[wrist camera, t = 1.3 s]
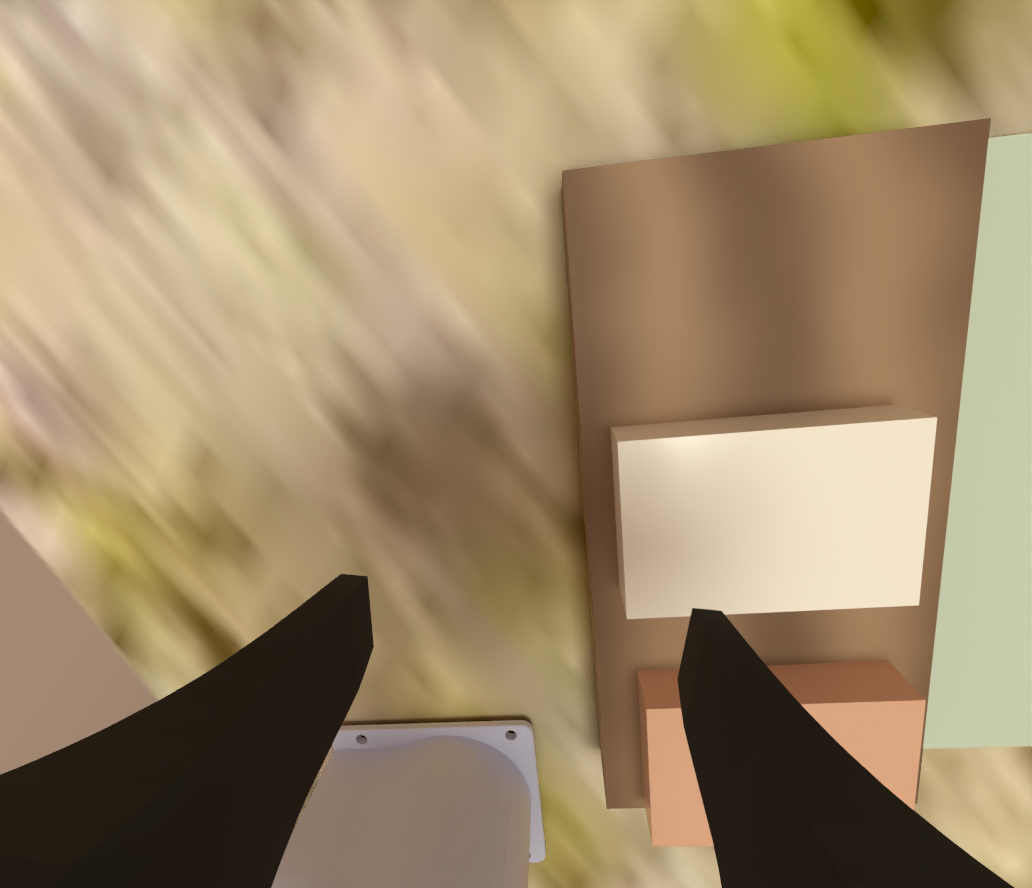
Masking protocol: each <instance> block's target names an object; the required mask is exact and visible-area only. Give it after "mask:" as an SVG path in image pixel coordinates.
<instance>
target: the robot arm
mask: <svg viewBox="0 0 1032 888" xmlns="http://www.w3.org/2000/svg"><path fill="white" fill-rule="evenodd" d="M373 647H374V645H373V634H372V623H371V611H370V600H369V589H368V577H367V576H357V575H347V574H341V575H339V576H338V577H337V578H335V579H334V580H333V581H331V582H330V583H329V584H328V585H326V586H325V587H324V588H322V589H321V590H320V591H319V592H317V593H316V594H315V595H314V596H312V597H311V598H310V599H308V600H307V601H306V602H305V603H303V604H302V605H301V606H300V607H298V608H297V609H296V610H294V611H293V612H292V613H290V614H289V615H288V616H287V617H285V618H284V619H283V620H281V621H280V622H279V623H277V624H276V625H275V626H273V627H272V628H271V629H269V630H268V631H267V632H265V633H264V634H262V635H261V636H260V637H258V638H257V639H255V640H254V641H252V642H251V643H250V644H248V645H247V646H245V647H244V648H242V649H241V650H239V651H238V652H237V653H235V654H234V655H232V656H231V657H229V658H228V659H227V660H225V661H224V662H222V663H221V664H219V665H218V666H216V667H214V668H213V669H211V670H210V671H208V672H207V673H205V674H203V675H202V676H200V677H199V678H197V679H195V680H193V681H192V682H190V683H188V684H187V685H185V686H183V687H182V688H180V689H178V690H177V691H175V692H173V693H172V694H170V695H168V696H166V697H164V698H163V699H161V700H159V701H157V702H155V703H153V704H151V705H150V706H148V707H146V708H144V709H142V710H140V711H138V712H136V713H134V714H132V715H130V716H129V717H127V718H125V719H123V720H121V721H119V722H117V723H115V724H113V725H111V726H109V727H107V728H105V729H103V730H101V731H100V732H97V733H95V734H93V735H91V736H89V737H87V738H84V739H83V740H80V741H78V742H76V743H74V744H71V745H69V746H67V747H65V748H62V749H60V750H58V751H56V752H53V753H51V754H49V755H47V756H44V757H42V758H40V759H38V760H35V761H33V762H30V763H28V764H26V765H24V766H21V767H19V768H16V769H14V770H11V771H9V772H6V773H4V774H1V775H0V888H528V865H529V863H534V862H541V861H542V860H544V858H545V856H546V844H545V835H544V826H543V816H542V807H541V797H540V788H539V779H538V769H537V760H536V751H535V741H534V732H533V727H532V725H531V724H530V723H529V722H527V721H525V720H506V721H474V722H442V723H410V724H378V725H346V726H341V725H342V723H343V721H344V719H345V717H346V715H347V713H348V711H349V709H350V707H351V705H352V703H353V700H354V698H355V696H356V694H357V692H358V690H359V687H360V684H361V682H362V679H363V676H364V673H365V671H366V668H367V665H368V662H369V659H370V656H371V653H372V650H373ZM677 680H678V688H679V696H680V704H681V711H682V718H683V725H684V730H685V734H686V738H687V742H688V746H689V750H690V754H691V758H692V762H693V766H694V770H695V774H696V778H697V782H698V786H699V789H700V793H701V797H702V801H703V805H704V809H705V813H706V817H707V821H708V824H709V828H710V832H711V836H712V840H713V844H714V849H715V854H716V858H717V863H718V867H719V873H720V879H721V885H722V888H1014V887H1012V886H1011V885H1010V884H1008V883H1007V882H1006V881H1004V880H1003V879H1002V878H1000V877H999V876H997V875H996V874H995V873H993V872H992V871H991V870H989V869H988V868H986V867H985V866H984V865H982V864H981V863H980V862H978V861H977V860H976V859H974V858H973V857H972V856H970V855H969V854H968V853H967V852H965V851H964V850H963V849H961V848H960V847H959V846H957V845H956V844H955V843H954V842H952V841H951V840H950V839H948V838H947V837H946V836H945V835H943V834H942V833H941V832H940V831H938V830H937V829H936V828H935V827H933V826H932V825H931V824H930V823H929V822H927V821H926V820H925V819H924V818H922V817H921V816H920V815H919V814H918V813H916V812H915V811H914V810H913V809H911V808H910V807H909V806H908V805H907V804H905V803H904V802H903V801H902V800H901V799H899V798H898V797H897V796H896V795H895V794H894V793H892V792H891V791H890V790H889V789H888V788H887V787H885V786H884V785H883V784H882V783H881V782H880V781H879V780H878V779H877V778H875V777H874V776H873V775H872V774H871V773H870V772H869V771H868V770H867V769H866V768H865V767H863V766H862V765H861V764H860V763H859V762H858V761H857V760H856V759H855V758H854V757H853V756H851V755H850V754H849V753H848V752H847V751H846V750H845V749H844V748H843V747H842V746H841V745H840V744H839V743H838V742H837V741H836V740H835V739H834V738H833V737H832V736H831V735H830V734H829V733H828V732H827V731H826V730H825V729H824V728H823V727H822V726H821V725H820V724H819V723H818V722H817V721H816V720H815V719H814V718H813V717H812V716H811V715H810V714H809V713H808V712H807V710H806V709H805V708H804V707H803V706H802V705H801V704H800V703H799V702H798V701H797V700H796V699H795V698H794V696H793V695H792V694H791V693H790V692H789V691H788V690H787V688H786V687H785V686H784V685H783V684H782V683H781V682H780V681H779V679H778V678H777V677H776V676H775V675H774V674H773V673H772V671H771V670H770V669H769V668H768V667H767V665H766V664H765V663H764V662H763V661H762V660H761V658H760V657H759V656H758V655H757V653H756V652H755V651H754V650H753V649H752V647H751V646H750V645H749V644H748V643H747V641H746V640H745V639H744V638H743V636H742V635H741V634H740V633H739V631H738V630H737V629H736V628H735V627H734V625H733V624H732V623H731V622H730V620H729V619H728V618H727V617H726V616H725V614H724V613H723V612H722V611H719V610H709V609H698V608H692V612H691V617H690V622H689V626H688V631H687V636H686V640H685V645H684V650H683V654H682V659H681V664H680V669H679V673H678V678H677ZM510 730H511V731H514V732H515V733H509V732H507V731H510ZM360 735H364V736H365V737H366V738H364V737H362V736H360ZM331 746H333V753H332V755H331V757H330V759H329V761H328V763H327V765H326V767H325V769H324V771H323V773H322V775H321V777H320V779H319V781H318V783H317V785H316V787H315V789H314V791H313V793H312V795H311V797H310V799H309V801H308V803H307V805H306V807H305V809H304V811H303V813H302V815H301V817H300V819H299V821H298V824H297V826H296V828H295V830H294V832H293V834H292V831H293V829H294V826H295V823H296V821H297V818H298V816H299V813H300V811H301V809H302V806H303V804H304V802H305V800H306V797H307V795H308V793H309V791H310V788H311V786H312V784H313V782H314V780H315V778H316V776H317V774H318V772H319V770H320V768H321V766H322V764H323V762H324V760H325V758H326V756H327V754H328V752H329V750H330V748H331ZM291 834H292V836H291ZM290 836H291V838H290ZM289 839H290V840H289Z"/></svg>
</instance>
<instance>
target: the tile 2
mask: <svg viewBox="0 0 1032 888" xmlns="http://www.w3.org/2000/svg"><path fill="white" fill-rule="evenodd" d="M767 667H768V668H769V669H770V670H771V671H772V673H773V674H774V675H775V676H776V677H777V678H778V679H779V681H780V682H781V683H782V684H783V685H784V686H785V687H786V688H787V690H788V691H789V692H790V693H791V694H792V695H793V696H794V698H795V699H796V700H797V701H798V702H799V703H800V704H801V705H802V706H803V707H804V708H805V709H806V710H807V712H808V713H809V714H810V715H811V716H812V717H813V718H814V719H815V720H816V721H817V722H818V723H819V724H820V725H821V726H822V727H823V728H824V729H825V730H826V731H827V732H828V733H829V734H830V735H831V736H832V737H833V738H834V739H835V740H836V741H837V742H838V743H839V744H840V745H841V746H842V747H843V748H844V749H845V750H846V751H847V752H848V753H849V754H850V755H851V756H853V757H854V758H855V759H856V760H857V761H858V762H859V763H860V764H861V765H862V766H863V767H865V768H866V769H867V770H868V771H869V772H870V773H871V774H872V775H873V776H874V777H875V778H877V779H878V780H879V781H880V782H881V783H882V784H883V785H884V786H885V787H887V788H888V789H889V790H890V791H891V792H892V793H894V794H895V795H896V796H897V797H898V798H899V799H901V800H902V801H903V802H904V803H905V804H907V805H908V806H909V807H910V808H911V809H913V810H914V807H915V797H916V788H917V779H918V769H919V760H920V750H921V741H922V732H923V722H924V713H925V703H926V700H925V699H924V698H923V697H922V696H921V695H920V693H919V692H918V691H917V690H916V689H915V688H914V687H913V686H912V685H911V684H910V683H909V682H908V681H907V680H906V679H905V678H904V677H903V675H902V674H901V673H900V672H899V671H898V670H897V669H896V668H895V667H894V666H893V665H892V664H891V663H890V662H889V661H870V662H845V663H819V664H793V665H768V666H767ZM678 673H679V669H665V670H639V671H637V674H638V694H639V715H640V736H641V757H642V777H643V798H644V804H645V809H646V814H647V820H648V825H649V831H650V836H651V842H652V846H714V844H713V840H712V836H711V832H710V828H709V824H708V821H707V817H706V813H705V809H704V805H703V801H702V797H701V793H700V789H699V786H698V782H697V778H696V774H695V770H694V766H693V762H692V758H691V754H690V750H689V746H688V742H687V738H686V734H685V730H684V725H683V718H682V711H681V704H680V696H679V688H678V680H677V678H678Z"/></svg>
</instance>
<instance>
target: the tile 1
mask: <svg viewBox="0 0 1032 888" xmlns="http://www.w3.org/2000/svg"><path fill="white" fill-rule="evenodd" d="M936 426H937V417H935V416H931V415H928V414H924V413H921V412H918V411H914V410H911V409H907V408H904V407H900V406H897V405H883V406H870V407H858V408H845V409H833V410H820V411H807V412H795V413H782V414H770V415H757V416H744V417H732V418H719V419H707V420H694V421H681V422H669V423H656V424H644V425H631V426H618V427H611V445H612V463H613V481H614V499H615V518H616V536H617V554H618V572H619V588H620V593H621V597H622V601H623V605H624V610H625V614H626V618H627V619H644V618H665V617H686V616H691V612H692V608H698V609H709V610H719V611H722V612H723V613H724V614H725V615H728V614H749V613H770V612H791V611H812V610H833V609H854V608H875V607H896V606H917V605H919V600H920V589H921V579H922V569H923V559H924V548H925V538H926V528H927V518H928V508H929V497H930V487H931V477H932V467H933V456H934V446H935V436H936Z"/></svg>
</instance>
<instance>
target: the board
mask: <svg viewBox="0 0 1032 888" xmlns="http://www.w3.org/2000/svg"><path fill="white" fill-rule="evenodd" d="M990 120H991V118H989V119H981V120H973V121H965V122H957V123H949V124H941V125H932V126H924V127H916V128H908V129H900V130H892V131H884V132H875V133H867V134H859V135H851V136H843V137H835V138H827V139H818V140H810V141H802V142H794V143H786V144H778V145H769V146H761V147H753V148H745V149H737V150H729V151H721V152H712V153H704V154H696V155H688V156H680V157H672V158H664V159H655V160H647V161H639V162H631V163H623V164H615V165H607V166H598V167H590V168H582V169H574V170H566V171H563V173H562V187H561V196H562V211H563V225H564V239H565V253H566V267H567V281H568V296H569V310H570V324H571V338H572V352H573V366H574V380H575V395H576V409H577V423H578V437H579V451H580V465H581V480H582V494H583V508H584V522H585V536H586V550H587V565H588V579H589V593H590V607H591V621H592V635H593V650H594V664H595V678H596V692H597V706H598V720H599V735H600V749H601V758H602V768H603V777H604V786H605V796H606V805H607V809H611V808H645V804H644V798H643V777H642V757H641V736H640V715H639V694H638V674H637V671H639V670H665V669H680V664H681V659H682V654H683V650H684V645H685V640H686V636H687V631H688V626H689V622H690V617H691V616H686V617H665V618H644V619H627V618H626V614H625V610H624V605H623V601H622V597H621V593H620V588H619V572H618V554H617V536H616V518H615V499H614V481H613V463H612V445H611V427H618V426H631V425H644V424H656V423H669V422H681V421H694V420H707V419H719V418H732V417H744V416H757V415H770V414H782V413H795V412H807V411H820V410H833V409H845V408H858V407H870V406H883V405H897V406H900V407H904V408H907V409H911V410H914V411H918V412H921V413H924V414H928V415H931V416H935V417H937V426H936V436H935V446H934V456H933V467H932V477H931V487H930V497H929V508H928V518H927V528H926V538H925V548H924V559H923V569H922V579H921V589H920V600H919V605H917V606H896V607H875V608H854V609H833V610H812V611H791V612H770V613H749V614H728V615H725V616H726V617H727V618H728V619H729V620H730V622H731V623H732V624H733V625H734V627H735V628H736V629H737V630H738V631H739V633H740V634H741V635H742V636H743V638H744V639H745V640H746V641H747V643H748V644H749V645H750V646H751V647H752V649H753V650H754V651H755V652H756V653H757V655H758V656H759V657H760V658H761V660H762V661H763V662H764V663H765V664H766V665H767V666H768V665H793V664H819V663H845V662H870V661H889V662H890V663H891V664H892V665H893V666H894V667H895V668H896V669H897V670H898V671H899V672H900V673H901V674H902V675H903V677H904V678H905V679H906V680H907V681H908V682H909V683H910V684H911V685H912V686H913V687H914V688H915V689H916V690H917V691H918V692H919V693H920V695H921V696H922V697H923V698H924V699H925V700H926V703H925V713H924V722H923V732H922V741H921V750H920V760H919V769H918V779H917V788H916V797H915V804H917V799H918V790H919V780H920V771H921V762H922V752H923V743H924V734H925V724H926V715H927V706H928V697H929V687H930V678H931V669H932V659H933V650H934V641H935V631H936V622H937V613H938V604H939V594H940V585H941V576H942V566H943V557H944V548H945V538H946V529H947V520H948V511H949V501H950V492H951V483H952V473H953V464H954V455H955V446H956V436H957V427H958V418H959V408H960V399H961V390H962V380H963V371H964V362H965V353H966V343H967V334H968V325H969V315H970V306H971V297H972V287H973V278H974V269H975V260H976V250H977V241H978V232H979V222H980V213H981V204H982V195H983V185H984V176H985V167H986V157H987V148H988V139H989V129H990Z"/></svg>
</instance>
